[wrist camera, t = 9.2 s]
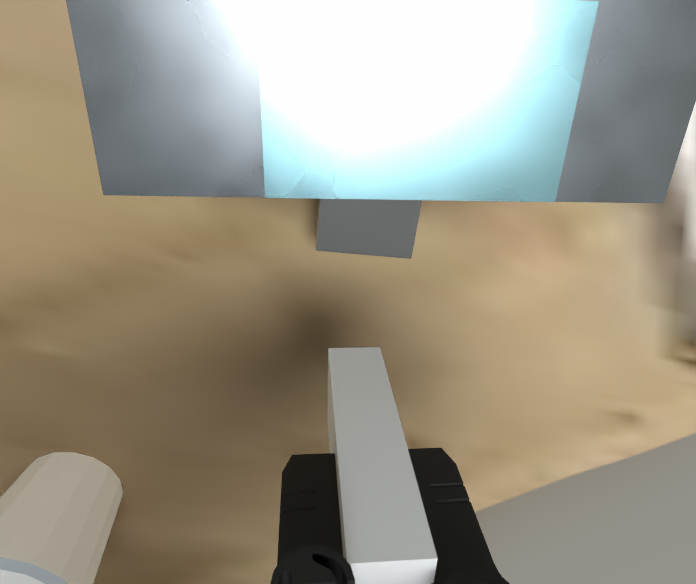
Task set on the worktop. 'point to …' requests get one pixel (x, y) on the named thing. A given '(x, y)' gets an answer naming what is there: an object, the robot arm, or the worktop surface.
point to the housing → (388, 97)
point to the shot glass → (57, 520)
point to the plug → (367, 226)
